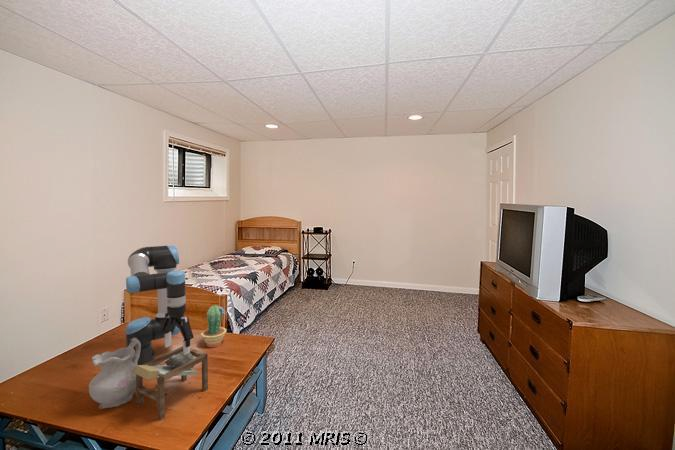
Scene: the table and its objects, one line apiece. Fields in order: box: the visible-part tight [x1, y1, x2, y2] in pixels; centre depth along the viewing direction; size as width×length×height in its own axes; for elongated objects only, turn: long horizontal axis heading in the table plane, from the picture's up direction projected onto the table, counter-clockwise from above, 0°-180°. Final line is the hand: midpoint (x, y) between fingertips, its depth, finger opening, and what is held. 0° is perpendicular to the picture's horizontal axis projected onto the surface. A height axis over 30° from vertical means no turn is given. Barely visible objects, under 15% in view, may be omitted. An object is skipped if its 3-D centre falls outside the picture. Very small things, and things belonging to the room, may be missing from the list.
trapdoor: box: [134, 364, 199, 380], centre depth 127 cm, size 13×23×3 cm, turn 153°
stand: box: [135, 345, 209, 421], centre depth 130 cm, size 18×23×18 cm
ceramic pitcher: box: [88, 337, 141, 410], centre depth 129 cm, size 22×20×25 cm
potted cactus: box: [200, 304, 227, 348], centre depth 181 cm, size 15×15×25 cm
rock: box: [164, 352, 195, 369], centre depth 133 cm, size 13×9×6 cm, turn 150°
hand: (177, 349), depth 131 cm, fingers open, 13 cm apart
